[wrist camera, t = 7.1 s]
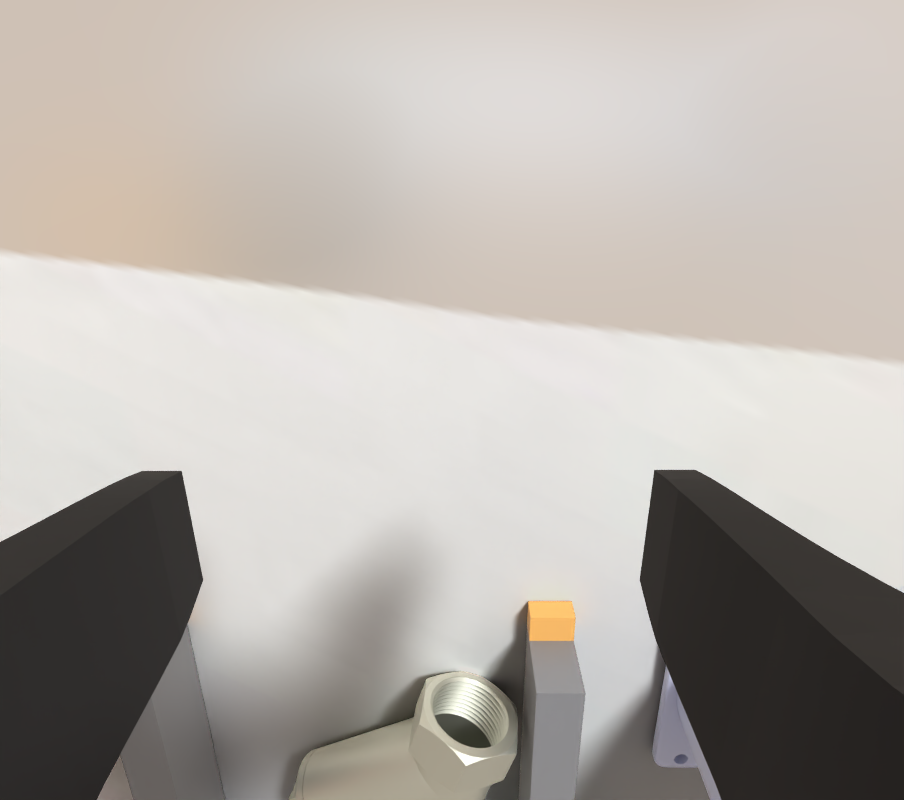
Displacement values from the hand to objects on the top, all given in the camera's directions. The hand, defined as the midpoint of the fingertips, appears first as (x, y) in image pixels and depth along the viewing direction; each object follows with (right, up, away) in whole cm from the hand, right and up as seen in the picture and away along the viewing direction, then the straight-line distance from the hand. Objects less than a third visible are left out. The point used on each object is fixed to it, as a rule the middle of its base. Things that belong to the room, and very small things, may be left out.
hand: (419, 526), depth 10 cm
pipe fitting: (-2, -11, +15) cm, 19 cm away
